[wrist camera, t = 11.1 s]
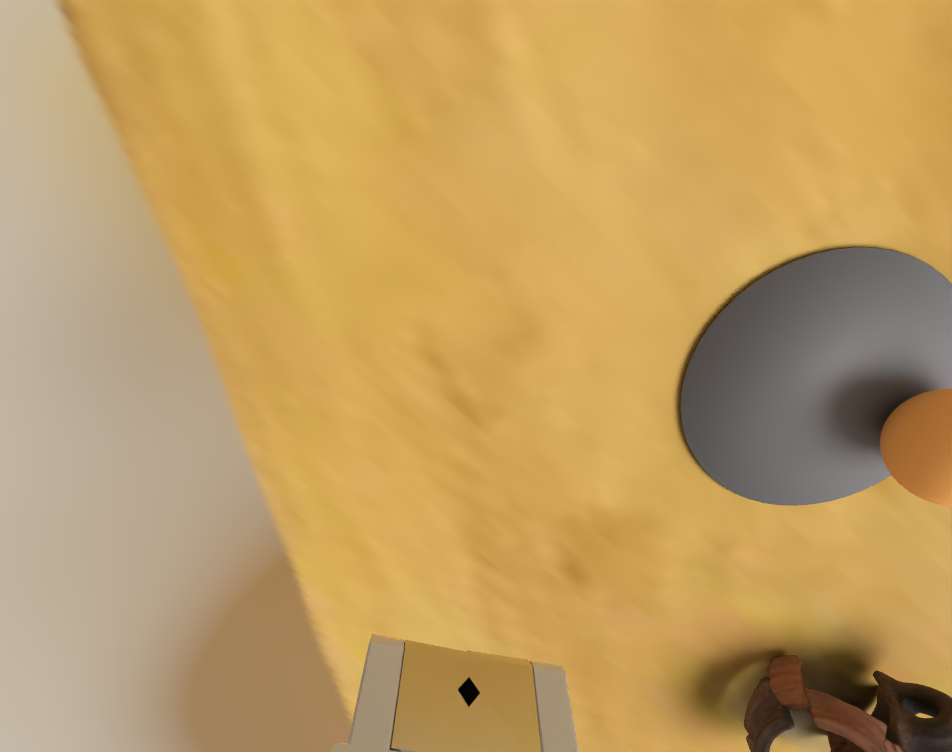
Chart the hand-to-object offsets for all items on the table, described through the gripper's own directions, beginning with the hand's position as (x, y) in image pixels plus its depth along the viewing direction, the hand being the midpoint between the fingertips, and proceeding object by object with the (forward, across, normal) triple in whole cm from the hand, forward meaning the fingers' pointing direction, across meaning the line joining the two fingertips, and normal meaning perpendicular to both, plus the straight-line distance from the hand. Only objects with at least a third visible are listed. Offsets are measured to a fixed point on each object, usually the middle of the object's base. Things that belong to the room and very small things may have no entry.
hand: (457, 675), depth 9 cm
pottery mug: (+20, -28, +20) cm, 40 cm away
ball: (+16, -23, +1) cm, 28 cm away
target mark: (+19, -18, 0) cm, 26 cm away
